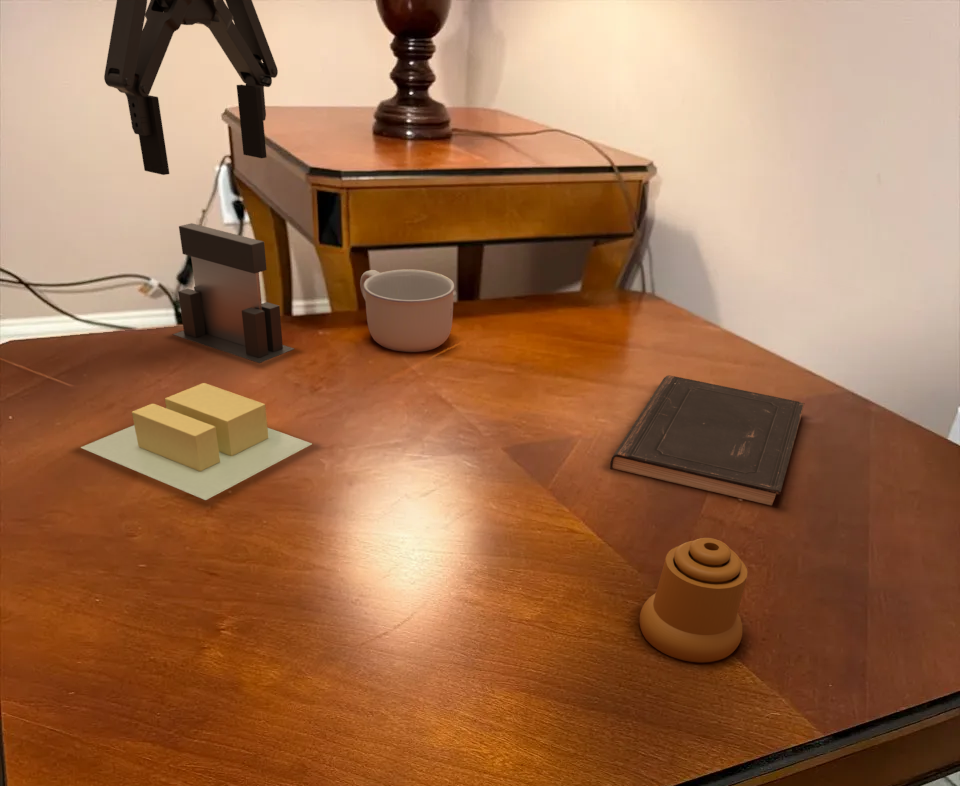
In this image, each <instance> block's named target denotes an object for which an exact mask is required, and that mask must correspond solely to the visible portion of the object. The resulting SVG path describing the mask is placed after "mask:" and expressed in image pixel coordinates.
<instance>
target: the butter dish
mask: <svg viewBox="0 0 960 786" xmlns="http://www.w3.org/2000/svg"><path fill="white" fill-rule="evenodd" d="M267 428H268V439H266V440H264V441H262V442H260V443H258V444H256V445H253V446H251V447H249V448H247V449H245V450H243V451H241V452H239V453H237V454H235V455H233V456H230V455H227V454H224V453H222V452H219V457H220V462H219V463H217V464H215V465H213V466H211V467H209V468H207V469H205V470H203V471H198V470H195V469H193V468H190V467H188V466H185V465H183V464H180V463H178V462H175V461H173V460H170V459H168V458H165V457H163V456H160V455H158V454H155V453H153V452H151V451H148V450H146V449H143V448H141V447H139V446H138V441H137V436H136V431H135V426H134V424H133V425H130V426H128V427H126V428H124V429H120V430H118V431H116V432H114V433H112V434H109V435H106V436H105V437H102V438H99V439H97V440H94V441H92V442H90V443H87V444H85V445H82V446H80V449H83V450H84V451H87V452H90V453H92V454H94V455H97V456H99V457H100V458H103V459H107V460H109V461H110V462H113V463H116V464H117V465H120V466H123V467H125V468H128V469H130V470H132V471H135V472H137V473H139V474H141V475H144V476H147V477H149V478H151V479H153V480H156V481H159V482H161V483H164V484H165V485H168V486H171V487H173V488H175V489H178V490H180V491H182V492H185V493H187V494H189V495H193V496H194V497H197V498H199V499H202V500H204V501H207V500H209V499H211V498H213V497H215V496H217V495H219V494H220V493H222V492H224V491H226V490H228V489H230V488H232V487H234V486H236V485H238V484H239V483H241V482H243V481H245V480H248V479H249V478H251V477H252V476H255V475H257V474H259V473H261V472H262V471H264V470H266V469H268V468H270V467H272V466H274V465H276V464H278V463H279V462H281V461H283V460H285V459H287V458H289V457H290V456H293V455H295V454H297V453H299V452H300V451H302V450H304V449H306V448H308V447H310V446H311V445H313V443H312V442H309V441H307V440H303V439H301V438H298V437H296V436H292V435H290V434H287V433H284V432H281V431H279V430H276V429H273V428H271V427H268V426H267Z"/></svg>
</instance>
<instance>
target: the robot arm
mask: <svg viewBox="0 0 960 786" xmlns="http://www.w3.org/2000/svg"><path fill="white" fill-rule="evenodd" d="M195 24H196V25H197V24H198V25H203V26H205V27H206V28H208V29H209V30H210V33H211V34H212V36H213V38H214V39H215V40H216V42H217V43H218V45H219V47H220V48H221V50H222V51H223V53H224V54H225V56H226V57H227V58H228V61H229V62H230V64H231V65H232V67H233V68H234V69H235V72H236V74H238V76H239V77H240V80H241V81H242V82H243V83H244V84H236V93H237V103H238V115H239V123H240V124H239V125H240V135H241V145H242V153H243V155H244V156H248V157H252V158H258V159H267V145H266V136H265V135H266V133H265V123H264V121H266V117H267V110H266V99H265V97H266V96H265V87H266V88H270V87H271V86H272V85H273V79H275V78H277V76H278V73H279V70H278V67H277V64H276V61H275V58H274V56H273V53H272V50H271V47H270V45H269V42H268V40H267V37H266V34H265V32H264V29H263V27H262V26H263V25H261V24H262V23H261V21H260V18H259V16H258V13H257V10H256V8H255V5H254V3H253V0H150V1H149V3H148V0H116V3H115V8H114V14H113V21H112V27H111V33H110V39H109V45H108V46H109V47H108V51H107V57H106V64H105V69H104V74H103V80H104V83H105V84H106V86H107V87H109V88H114V89H117V91H118V92H119V93H122V94H124V95H125V97H126V99H127V104H128V111H129V116H130V121H131V122H130V123H131V129H132V131H133V132H134V134H135V135H138V139H139V145H140V151H141V157H142V158H141V159H142V163H143V170H144V171H145V172H147V173H148V172H149V173H153V174H157V175H160V176H161V175H162V176H166V175H170V168H169V161H168V154H167V149H166V148H167V147H166V141H165V134H164V127H163V120H162V114H161V107H160V100H159V97H158V96H154V95H150V93H151V91H152V88H153V87H154V86H153V85H154V83H155V81H156V78H157V75H158V73H159V70H160V68H161V65H162V64H163V61H164V58H165V55H166V53H167V51H168V48H169V46H170V43H171V40H172V38H173V36H174V34H175V32H176V31H178V30H180V27H181V26H182V25H183V26H194V25H195Z"/></svg>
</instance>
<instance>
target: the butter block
mask: <svg viewBox="0 0 960 786" xmlns="http://www.w3.org/2000/svg"><path fill="white" fill-rule="evenodd" d="M164 403H165V408H167V409H169V410H172V411H175V412H177V413H180V414H183V415H185V416H188V417H191V418H193V419H196V420H199V421H201V422H204V423H207V424H210V425H212V426H215V427H216V435H217V442H218V449H219V452H222V453H224V454H227V455H230V456H233V455H235V454H237V453H239V452H241V451H243V450H245V449H247V448H249V447H251V446H253V445H256V444H258V443H260V442H262V441H264V440H266V439H268V428H269V427H268V419H267V418H268V417H267V409H266V408H267V407H266V404H265V403H263V402H261V401H257V400H255V399H252V398H248V397H246V396H243V395H240V394H237V393H234V392H231V391H229V390H226V389H223V388H220V387H217V386H214V385H213V384H208V383H206V382H202V383H199V384H197V385H195V386H192V387H190V388H187V389H185V390H182V391H180V392H177V393H174V394H172V395H169V396H167V397H165V398H164ZM267 427H268V428H267Z"/></svg>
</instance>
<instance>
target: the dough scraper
mask: <svg viewBox="0 0 960 786" xmlns="http://www.w3.org/2000/svg"><path fill="white" fill-rule="evenodd" d="M178 230H179V237H180V245H181V250H182V251H181V252H182V255H185V256H189V257H190V259H191V266H192V274H193V281H194V287H195V289H196V291H198V292H200V296H201V303H202V311H203V318H204V326H205V333H206V334H209V335H212V336H215V337H218V338H221V339H225V340H228V341H231V342H234V343H237V344H240V345H243V346H245V338H244V329H243V319H242V310H245V309H248V308H250V307H252V308H256V309H259V310H262V303H263V302H262V293H261V281H260V273H262V272H264V271H267V259H266V248H265V241H263V240H259V239H255V238H251V237H247V236H243V235H238V234H236V233H232V232H228V231H223V230H221V229H216V228H211V227H207V226H204V225H200V224H196V223H193V222H190V223H186V224H183V225H179V226H178Z"/></svg>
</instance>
